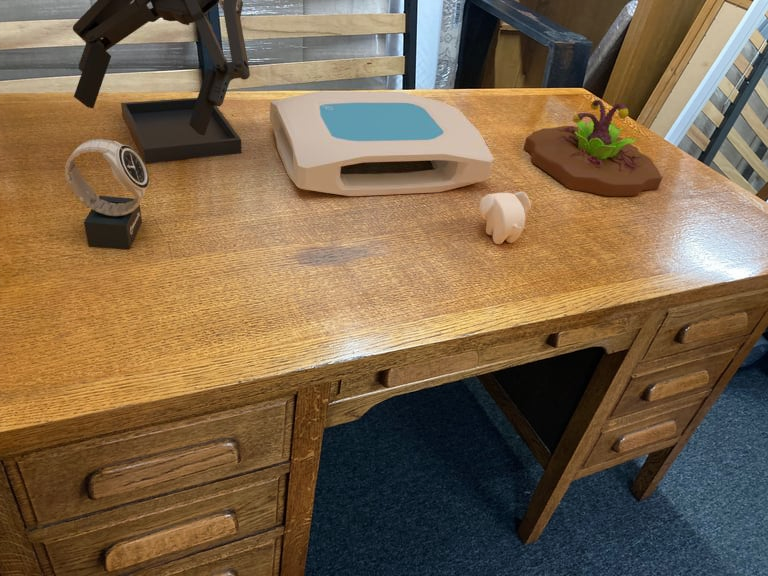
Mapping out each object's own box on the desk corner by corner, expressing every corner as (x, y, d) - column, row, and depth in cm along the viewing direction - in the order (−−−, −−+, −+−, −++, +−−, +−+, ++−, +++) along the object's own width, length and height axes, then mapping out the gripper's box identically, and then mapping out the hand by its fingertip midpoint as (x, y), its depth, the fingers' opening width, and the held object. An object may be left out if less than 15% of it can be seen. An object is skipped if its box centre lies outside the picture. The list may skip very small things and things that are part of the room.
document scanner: (488, 190, 90) (499, 151, 86) (297, 200, 81) (299, 156, 77) (434, 127, 105) (441, 91, 102) (268, 129, 96) (269, 89, 92)
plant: (570, 201, 91) (597, 129, 84) (508, 140, 105) (526, 75, 98) (677, 194, 98) (710, 127, 91) (605, 138, 112) (629, 76, 105)
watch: (148, 250, 69) (137, 160, 62) (71, 245, 68) (51, 152, 61) (159, 223, 73) (150, 136, 66) (87, 217, 72) (70, 128, 65)
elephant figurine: (505, 216, 85) (516, 178, 81) (535, 250, 79) (549, 210, 76) (461, 220, 83) (471, 181, 79) (489, 255, 77) (501, 214, 73)
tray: (122, 116, 93) (120, 102, 92) (210, 109, 99) (209, 96, 98) (145, 163, 83) (143, 149, 82) (241, 152, 89) (241, 139, 88)
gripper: (307, -15, 73) (255, 154, 71) (114, -55, 76) (57, 106, 74) (293, -59, 66) (234, 127, 63) (79, -101, 69) (15, 75, 66)
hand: (139, 116), depth 69 cm, fingers open, 13 cm apart
